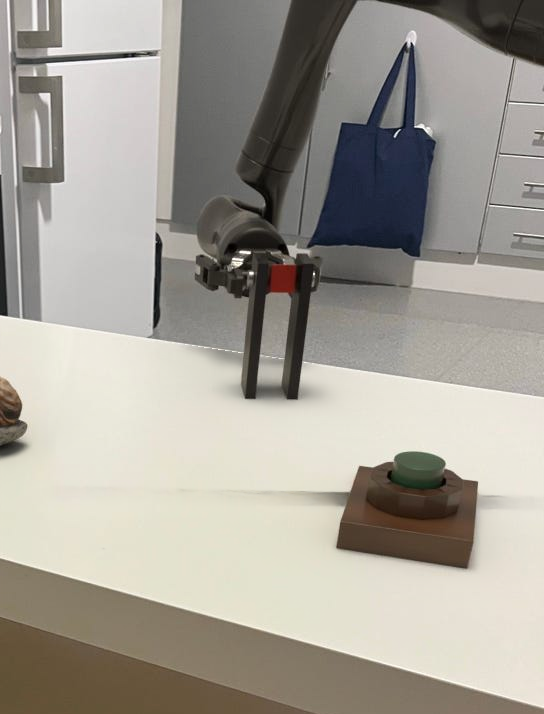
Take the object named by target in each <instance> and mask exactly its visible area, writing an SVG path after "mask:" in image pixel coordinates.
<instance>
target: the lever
mask: <svg viewBox="0 0 544 714" xmlns="http://www.w3.org/2000/svg"><path fill="white" fill-rule="evenodd" d="M241 271H242V274H243V276H244V281H243V285H247V275H248V271H249V270H241ZM295 276H296V265H269V270H268V279H267V289H266V292H269V294H272V293H273V294H278V293H279V294H288V293H294V288H295Z"/></svg>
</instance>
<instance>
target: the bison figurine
mask: <svg viewBox="0 0 544 714" xmlns="http://www.w3.org/2000/svg"><path fill="white" fill-rule="evenodd" d="M22 410H23V401H22V399H21V398H20V394H19V393H18V391H17V389H15V388H14V387H13V386H12V384H11V383H10V381H9V380H8V379H6V378H4V377H1V376H0V447H1V446H4V445H6V444H9V443H11V442H13V441H17V440H18V439H21V438H22V437H23V436H24V435H25V434H26V432H27V430H28V424H27V422H26V421H24V420H21V419H20V418H21V416H22Z"/></svg>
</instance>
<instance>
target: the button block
mask: <svg viewBox="0 0 544 714" xmlns="http://www.w3.org/2000/svg"><path fill="white" fill-rule="evenodd" d="M393 462H394V461H385V462H383V463H381V464H380V463H379V464H378V465H376V466H373V467H372V466H365V465H358V468H357V471H356V474H355V477H354V480H353V483H352V486H351V489H350V492H349V495H348V497H347V500H346V503H345V507H344V510H343V512H342V515H341V518H340V521H339V526H338V533H337V540H336V545H335V546H336V547H335V548H336V549H337V550H338V549H339V550H344V551H351V552H357V553H363V554H370V555H375V556H376V555H377V556H381V557H387V558H388V557H389V558H396V559H401V560H408V561H414V562H420V563H427V564H434V565H441V566H447V567H453V568H458V569H466V570H467V569H468V567H469V562H470V558H471V554H472V549H473V546H474V541H475V529H476V516H477V504H478V503H477V502H478V492H479V491H478V489H479V481H478V480H470V479H463V478H462V477H461V476H459V475H458V474H457V473H455V472H454V471H453V470H451V469H448V468H445V471H444V475H443V480H442V485H441V487H440V488H438V489H427V490H419V489H412V488H405V487H403V486H400V485H397V484H395V483H392V482H391V481H390V478H391V473H392V467H393Z"/></svg>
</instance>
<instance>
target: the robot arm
mask: <svg viewBox="0 0 544 714" xmlns="http://www.w3.org/2000/svg"><path fill="white" fill-rule="evenodd" d="M358 2H374V3H375V2H376V3H377V2H378V3H382V4H388V5H392V6H398V7H400V8H406V9H411V10H414V11H418V12H421V13H425V14H427V15H430V16H432V17H435V18H437V19H439V20H441V21H442V22H444V23H446V24H447V25H449V26H451V27H452V28H454V29H455V30H456V31H458V32H460V33H461V34H463V35H464V36H466V37H467V38H469V39H470V40H473V41H474V42H476V43H478V44H479V45H481V46H483V47H485V48H486V49H489V50H491V51H493V52H495V53H498V54H499V55H502V56H505V57H508V58H511V59H514V60H517V61H520V62H523V63H526V64H529V65H532V66H534V67H538V68H541V69H544V0H290V4H289V7H288V11H287V14H286V18H285V23H284V26H283V29H282V33H281V37H280V40H279V44H278V46H277V51H276V53H275V57H274V61H273V64H272V67H271V70H270V73H269V76H268V79H267V81H266V84H265V87H264V90H263V93H262V95H261V98H260V101H259V104H258V106H257V109H256V111H255V114H254V116H253V118H252V121H251V124H250V127H249V129H248V131H247V134H246V136H245V139H244V142H243V143H242V147H241V149H240V153H239V154H238V157H237V159H236V163H235V169H234V170H235V174H236V177H238V179H239V180H240V181H241V182H242V183H243V184H245V185H246V186H247V187H249V188H251V189H252V190H254V192H256V193H258V194H259V195H260V196H261V198H262V199H263V205H262V206H260V205H257V204H254V203H251V202H249V201H245V200H243V199H239V198H237V197H234V196H231V195H227V194H219V195H216V196H214V197H212V198H211V199H209V200H208V201H207V202H206V203H205V205H204V206H203V207H202V209H201V211H200V213H199V216H198V219H197V222H196V239H197V243H198V245H199V248H200V249H201V250H202V251H203V252H204V253H205V254H207V255H205V254H202V253H200V254H198V255H197V254H196V255H195V264H194V266H195V267H194V281H196V282H197V283H198V284H200V285H201V286H202V287H204V288H205V289H206V290H208V291H211V292H215V291H218V290H219V287H224V292H226V293H227V294H229V295H233V298H234V299H242V298H248V299H249V291H250V286H247V285H243V281H244V276H243V274H242V271H241V270H251V269H252V259H253V253H264V255H265V257H266V259H267V261H268V262H269V265H295V263H296V257H294V256H291V255H290V251H289V248H288V245H287V243H286V241H285V239H284V238H283V237H282V236H281V228H282V219H283V213H284V206H285V202H286V199H287V194H288V190H289V187H290V184H291V182H292V178H293V176H294V173H295V171H296V169H297V167H298V165H299V162H300V161H301V160H300V159H301V158H302V155H303V152H304V150H305V148H306V146H307V143H308V141H309V139H310V137H311V134H312V131H313V127H314V124H315V121H316V118H317V115H318V114H317V113H318V110H319V106H320V100H321V95H322V90H323V84H324V80H325V76H326V71H327V68H328V64H329V62H330V58H331V55H332V53H333V51H334V47H335V46H336V43H337V40H338V38H339V36H340V33H341V32H342V29H343V28H344V26H345V24H346V22H347V20H348V18H349V17H350V15H351V13H352V11H353V10H354V8H355V6H356V5H357V3H358ZM209 256H210V257H209ZM310 258H311V260H312V261H313V263H314V271H315V283H314V286H313V287H311V294H312V293H314V292H317V291H318V288H319V285H320V282H321V276H322V268H323V259H324V257H322V256H320V255H315V256H312V257H310ZM214 259H215V260H216V261H215V260H214ZM269 294H270V293H269V292H266V296H267V295H269ZM287 294H288V296H289V297H290V299H291V298H292V293H287Z"/></svg>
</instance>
